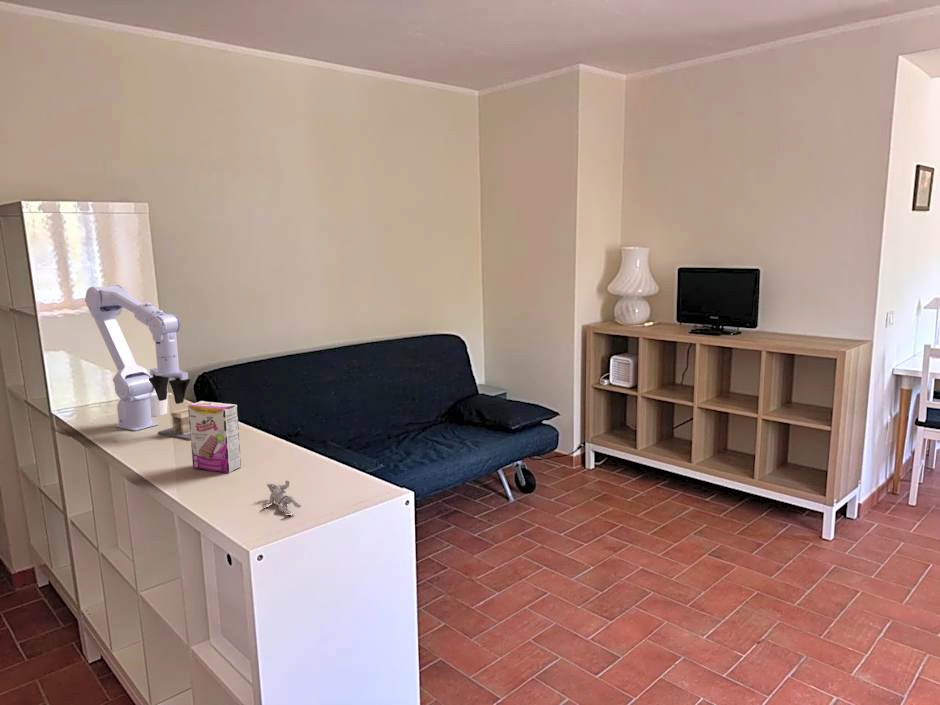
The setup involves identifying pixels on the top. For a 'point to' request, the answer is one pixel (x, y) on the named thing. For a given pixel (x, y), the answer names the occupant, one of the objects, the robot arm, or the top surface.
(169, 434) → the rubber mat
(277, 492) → the grey creature figurine
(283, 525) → the top surface
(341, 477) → the top surface
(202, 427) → the candy bar box
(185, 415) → the two-pronged tan block
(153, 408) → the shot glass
